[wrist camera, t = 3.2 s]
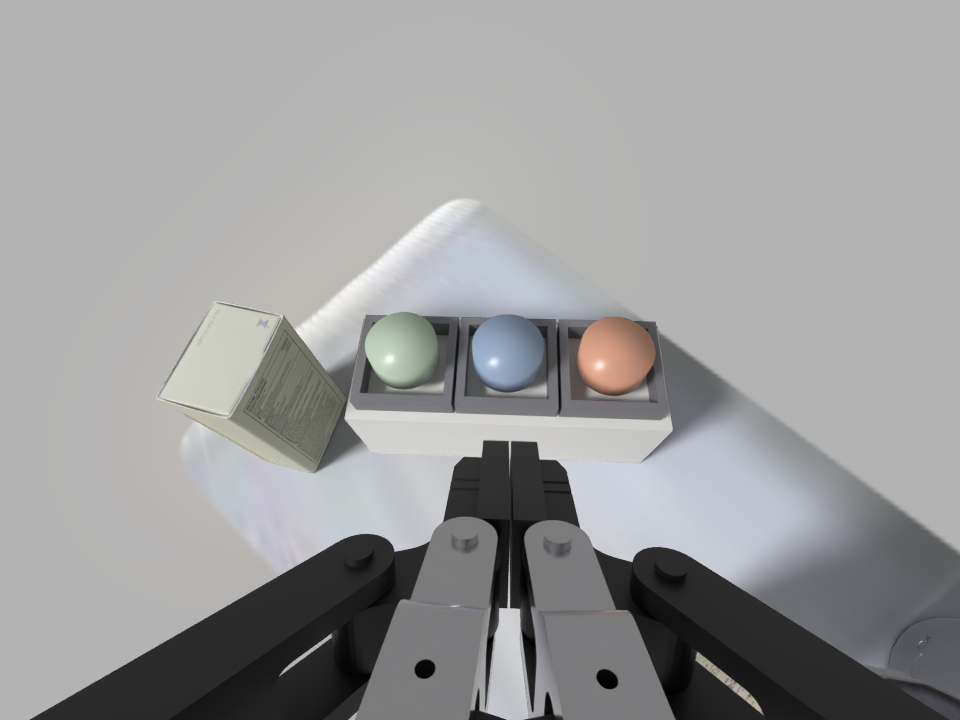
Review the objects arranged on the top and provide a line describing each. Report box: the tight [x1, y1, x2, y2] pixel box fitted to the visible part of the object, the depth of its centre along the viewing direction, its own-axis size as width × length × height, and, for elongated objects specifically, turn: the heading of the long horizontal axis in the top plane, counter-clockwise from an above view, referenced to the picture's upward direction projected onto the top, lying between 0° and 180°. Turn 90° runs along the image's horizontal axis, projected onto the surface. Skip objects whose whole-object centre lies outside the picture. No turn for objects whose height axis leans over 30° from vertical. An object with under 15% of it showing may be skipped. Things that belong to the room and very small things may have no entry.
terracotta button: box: [576, 317, 656, 396], centre depth 26 cm, size 4×4×2 cm
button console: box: [344, 315, 673, 463], centre depth 31 cm, size 19×7×8 cm, turn 87°
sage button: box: [365, 312, 440, 389], centre depth 27 cm, size 4×4×2 cm
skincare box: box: [156, 301, 346, 473], centre depth 29 cm, size 6×4×12 cm
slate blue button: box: [472, 315, 544, 393], centre depth 27 cm, size 4×4×2 cm
